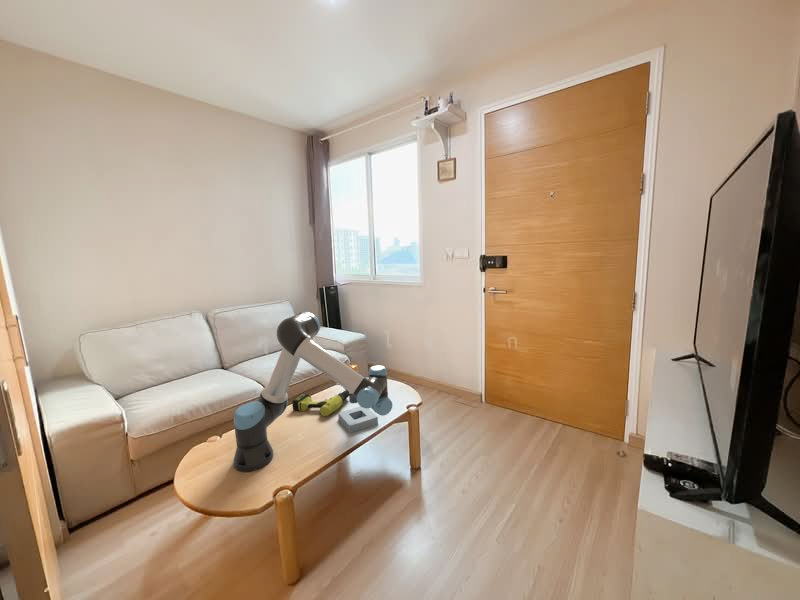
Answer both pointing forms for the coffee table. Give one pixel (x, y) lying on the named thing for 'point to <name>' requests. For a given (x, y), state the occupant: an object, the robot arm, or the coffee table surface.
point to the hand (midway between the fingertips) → (349, 377)
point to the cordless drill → (319, 403)
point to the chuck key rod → (352, 397)
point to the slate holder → (359, 423)
